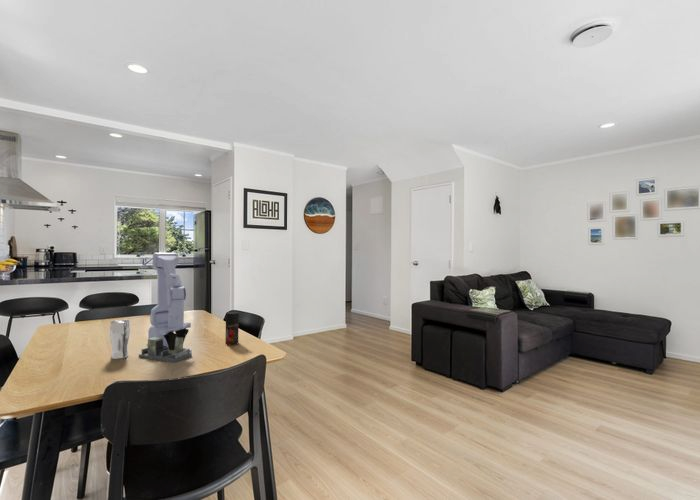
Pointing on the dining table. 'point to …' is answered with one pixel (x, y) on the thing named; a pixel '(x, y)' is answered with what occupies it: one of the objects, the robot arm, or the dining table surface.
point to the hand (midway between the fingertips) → (175, 348)
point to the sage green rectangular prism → (177, 346)
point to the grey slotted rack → (162, 351)
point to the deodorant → (232, 328)
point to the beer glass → (119, 338)
